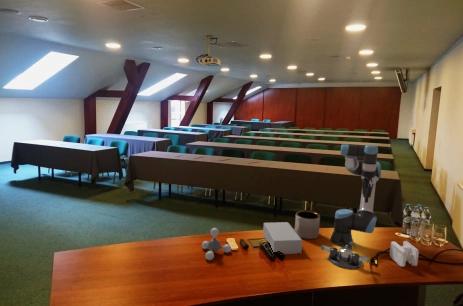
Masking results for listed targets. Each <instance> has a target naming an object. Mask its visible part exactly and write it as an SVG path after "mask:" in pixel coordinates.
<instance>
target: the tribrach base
mask: <svg viewBox="0 0 463 306" xmlns="http://www.w3.org/2000/svg"><path fill="white" fill-rule="evenodd" d="M338 249H339V251H338V252H337V259H336V260H333V259H330V253H329V254H328V261H329V262H330V263H331V264H333V265H334V266H336V267H338V268H341V269H345V270H356V269H360V268H361V267H362V266H363V261H359V265H358V266H354V265H352V264H351V258H352V253H354V250H353V248H352V249H350V248H347V247H345V246H340V247H339V248H338Z"/></svg>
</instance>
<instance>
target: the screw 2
mask: <svg viewBox="0 0 463 306" xmlns="http://www.w3.org/2000/svg"><path fill="white" fill-rule="evenodd" d="M359 261H362V263H368V264H371V257H369V256H363V255H360V254H359V253H355V252H353V253H352V258H351V264H352V265H354V266H358V265H359Z"/></svg>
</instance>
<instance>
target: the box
mask: <svg viewBox="0 0 463 306" xmlns="http://www.w3.org/2000/svg"><path fill="white" fill-rule="evenodd" d="M262 230H263V231H262V236H263V237H264V239H265V241H266V240H267V241H268V242H269V243H270V245H271V248H272V250H273V252H277V251H280V252H282V253H284V254H283V255H292V254H295V255H297V253H300V254H302V249H303V239H302V238H301V237H299V236H298V234H297V233H296V232H295V228H293V227H292V225H291V224H290V223H289V221H288V222H287V221H285V222H283V221H281V222H279V221H277V222H263V229H262ZM267 241H266V242H267ZM271 248H270V249H271ZM272 250H271V251H272ZM273 252H272V253H273Z"/></svg>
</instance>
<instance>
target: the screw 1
mask: <svg viewBox="0 0 463 306" xmlns="http://www.w3.org/2000/svg"><path fill="white" fill-rule="evenodd" d="M353 246H354V241H353V242H352V241H350V242H349V244H345V246H344V247H347V248H350V249H352V250H353Z"/></svg>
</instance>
